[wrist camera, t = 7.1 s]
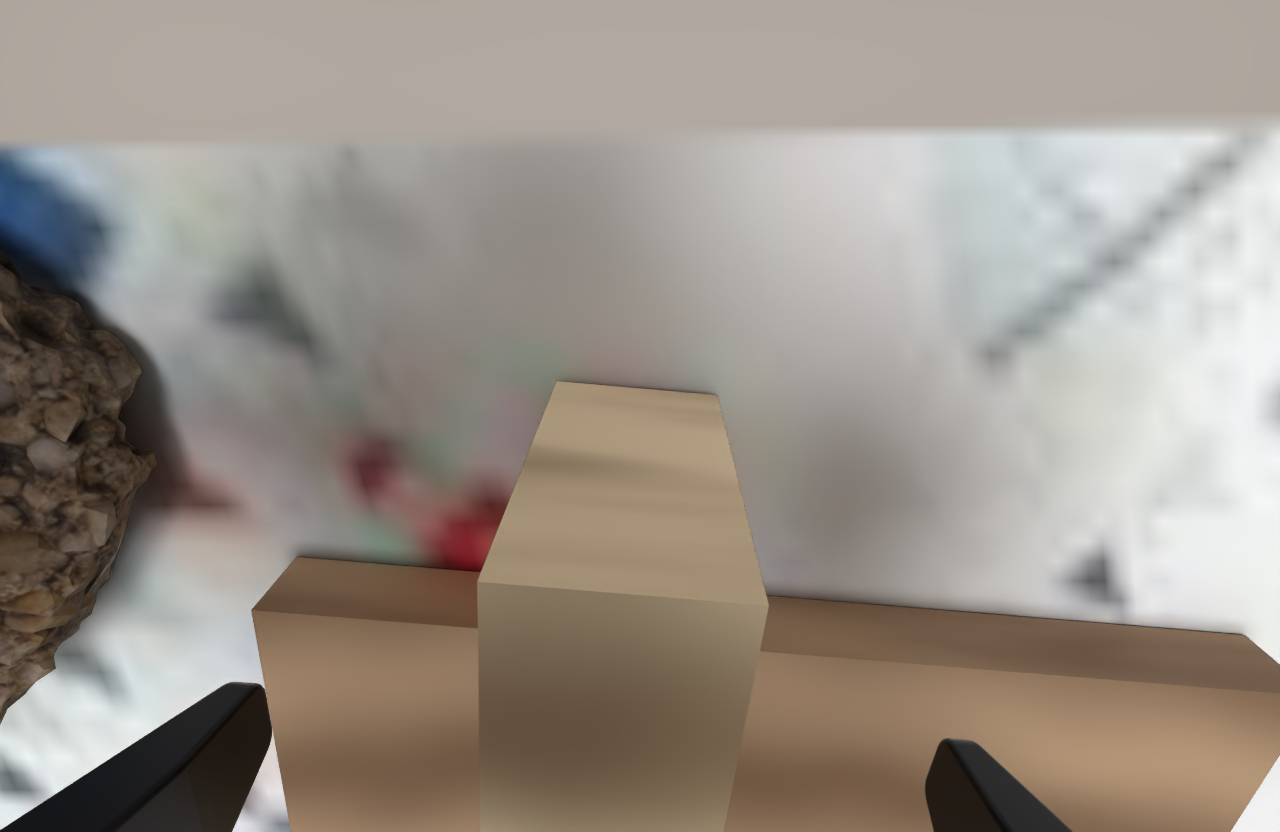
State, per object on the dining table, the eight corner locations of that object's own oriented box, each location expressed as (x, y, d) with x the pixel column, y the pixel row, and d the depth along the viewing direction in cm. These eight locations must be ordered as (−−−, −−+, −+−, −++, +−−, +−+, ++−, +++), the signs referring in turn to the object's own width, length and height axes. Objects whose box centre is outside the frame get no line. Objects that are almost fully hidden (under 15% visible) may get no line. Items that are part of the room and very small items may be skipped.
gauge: (656, 824, 20) (658, 1156, 13) (539, 815, 20) (484, 1144, 13) (717, 395, 14) (769, 605, 8) (556, 380, 14) (477, 581, 8)
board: (1115, 865, 20) (1161, 939, 18) (331, 806, 20) (298, 874, 18) (1244, 635, 17) (1318, 696, 15) (296, 556, 16) (251, 610, 15)
